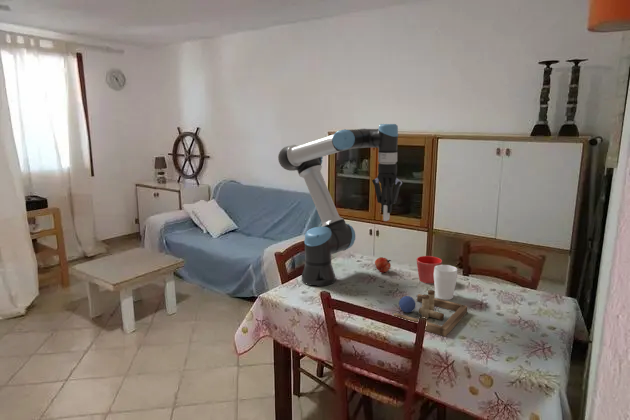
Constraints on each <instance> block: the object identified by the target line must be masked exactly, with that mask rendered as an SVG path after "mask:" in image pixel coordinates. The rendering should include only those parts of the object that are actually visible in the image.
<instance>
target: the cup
mask: <svg viewBox="0 0 630 420" xmlns="http://www.w3.org/2000/svg"><path fill="white" fill-rule="evenodd" d="M457 279H458V268H457V267H455V266H454V265H451V264H441V265H437V266H435V267H434V283H433V285H434V291H435V298H437V299H441V300H445V301H449V300H452V299H453V298H454V293H455V289H456V285H457Z"/></svg>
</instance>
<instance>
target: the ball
mask: <svg viewBox="0 0 630 420" xmlns="http://www.w3.org/2000/svg"><path fill="white" fill-rule="evenodd" d="M398 306H399V309H400V310H401V311H402V312H404V313H408V314H409V313H411V312H413V311H414V310H415V308H416V306H417V305H416V301H415V299H414V298H413V297H411V296H410V295H405V296H402V297H401V298H400V299H399V301H398Z"/></svg>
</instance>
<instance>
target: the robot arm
mask: <svg viewBox="0 0 630 420" xmlns="http://www.w3.org/2000/svg"><path fill="white" fill-rule="evenodd" d="M398 138H399V128H398V125H397V123H380V124H379V125H378V128H359V129H345V128H344V129H341V130H339V129H338V130H337V131H336V132H335V133H333V134H330V135H327V136H324V137H320V138H317V139H314V140H311V141H309V142H305V143H302V144H298V145H296V144H292V145H288V146H284V147H283V148H282V149H280V151H279V153H278V156H277V157H278V164H279V165H280V166H281V167H282V169H285V170H286V171H291V172H292V171H294V172H295V171H297V173H298V175H299V177H301V178H303V179H304V182H305V185H306V186H307V189H308V191H309V194H310V197H311V198H312V202H313V203H314V206H315V209H316V212H317V214H318V216H319V218H320V221H321V224H322V225H321V226H316V227H315V226H314V227H312V228H310V229H308V230H306V232H305V233H304V240H303V241H304V265H303V267H304V268H303V270H302V272H301V273H302V274H301V282H302V281H303V282H304V283H307V284H311V285H317V286H316V287H325V286H324V285H326V286H329V284H330V285H332V284H334V283H335V282H336V274H335V270H334V268H333V265H332V255H334V254H337V253H339V252H340V253H341V252H343V251H346V250H348V249H350V248H352V247H353V245H354V243H355V240H356V231H355V229H354V228H353V226H352V225H350V223H349V224H348V223H346V221H345V219H344V218H343V217H341V216H340V214H339V212H338V209H337V208H336V205H335V203H334V200H333V197H332V195H331V193H330V191H329V187H328V186H327V184H326V181H325V179H324V177H323V174H322V172H321V171H322V168H323V165H322V163H323V157H327V156H328V155H329V156H330V155H333V154H336V153H339V152H343V151H347V150H348V151H349V150H352V149H364V148H365V149H366V148H374V149H375V148H377V150H378V159H377V162H379V163H378V164H377V177H376V178H375V179H371V180H372V181H371V182H372V184H373V186H374V192H375V196H376V201H377V203H379V204H381V212H382V213H383V216H382V217H383V218H382V219H383V220H382V221H383V222H387V221H390V218H391V217H390V216H391V215H390V214H391V213H392V210H393V205H395V204H397V201H398V197H399V194H400V193H399V192H400V189H401V187H402V185H403V183H404V181H403V180H400V179H399V178H398V164H397V162H398V142H399V141H398V140H399V139H398ZM394 184H395V187H394ZM393 188H394V189H393ZM303 282H302V283H303ZM304 283H303V284H304Z"/></svg>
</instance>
